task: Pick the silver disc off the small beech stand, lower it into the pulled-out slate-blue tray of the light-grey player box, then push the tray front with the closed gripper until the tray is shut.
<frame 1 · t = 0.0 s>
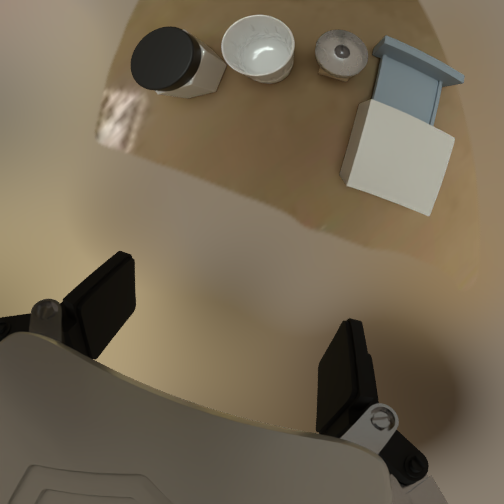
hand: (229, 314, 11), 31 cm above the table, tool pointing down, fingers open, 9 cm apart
housing: (387, 152, 34), on the table
white cup: (269, 63, 32), on the table
jar: (198, 72, 34), on the table
disc: (340, 55, 25), point 6 cm above the table, touching stand
tray: (411, 93, 27), point 4 cm above the table, slide at 8.0 cm
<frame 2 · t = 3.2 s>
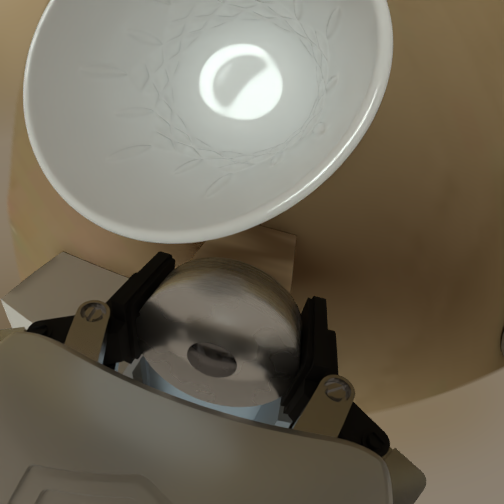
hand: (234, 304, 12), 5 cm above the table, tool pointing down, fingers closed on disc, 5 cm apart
housing: (117, 327, 22), on the table
white cup: (253, 90, 12), on the table
disc: (226, 324, 11), point 6 cm above the table, touching gripper, stand
tray: (203, 400, 18), point 4 cm above the table, slide at 8.0 cm
stand: (253, 257, 16), on the table
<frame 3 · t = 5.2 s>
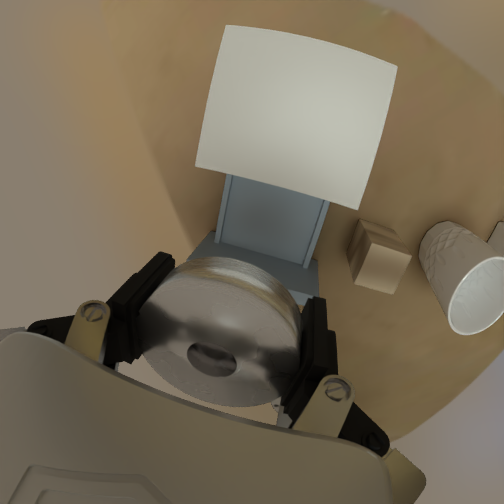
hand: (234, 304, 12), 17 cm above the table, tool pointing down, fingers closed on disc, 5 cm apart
housing: (297, 114, 23), on the table
white cup: (442, 248, 26), on the table
jar: (503, 249, 24), on the table
disc: (226, 324, 11), point 18 cm above the table, touching gripper
tray: (269, 217, 24), point 4 cm above the table, slide at 8.0 cm
stand: (370, 241, 27), on the table
when the fingers open (3 cm above the table, at t = 7.6 s): disc drops 2 cm, resting on tray.
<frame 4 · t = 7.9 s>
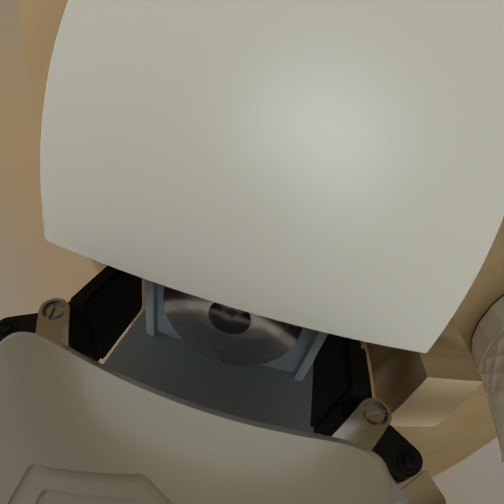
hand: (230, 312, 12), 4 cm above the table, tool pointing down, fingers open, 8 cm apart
housing: (290, 97, 11), on the table
white cup: (503, 323, 13), on the table
disc: (239, 290, 13), point 2 cm above the table, touching tray
tray: (229, 316, 12), point 4 cm above the table, slide at 8.0 cm, touching disc
stand: (408, 328, 15), on the table
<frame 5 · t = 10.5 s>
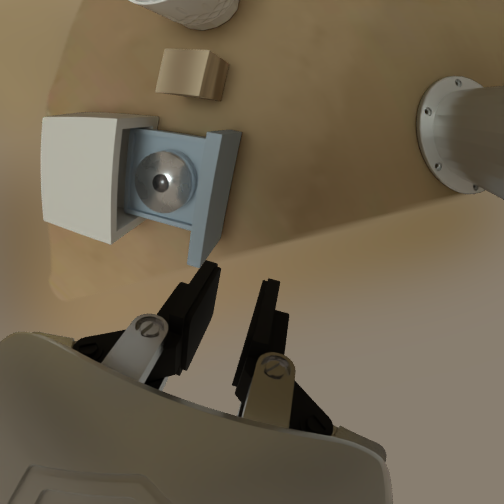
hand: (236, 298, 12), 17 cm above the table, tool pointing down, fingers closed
housing: (113, 162, 29), on the table
white cup: (208, 5, 19), on the table
disc: (170, 178, 26), point 2 cm above the table, touching tray
tray: (166, 183, 25), point 4 cm above the table, slide at 8.0 cm, touching disc
stand: (206, 80, 23), on the table
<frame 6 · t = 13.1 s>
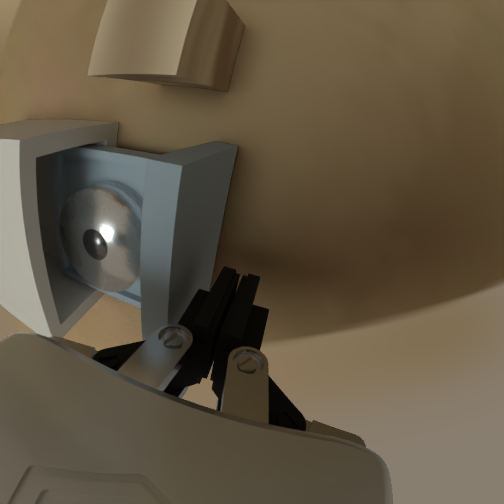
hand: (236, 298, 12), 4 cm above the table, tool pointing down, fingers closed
housing: (61, 196, 17), on the table
disc: (115, 230, 15), point 2 cm above the table, touching tray
tray: (104, 243, 13), point 4 cm above the table, slide at 6.4 cm, touching disc, gripper
stand: (200, 53, 12), on the table
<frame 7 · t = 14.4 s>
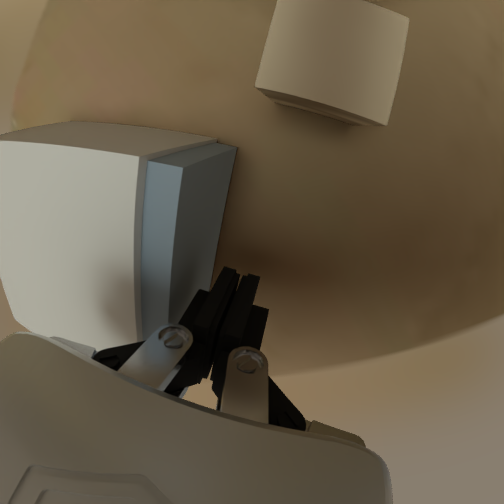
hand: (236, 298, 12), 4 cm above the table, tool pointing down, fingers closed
housing: (123, 217, 17), on the table
tray: (103, 245, 13), point 4 cm above the table, slide at -0.1 cm, touching disc, gripper, housing
stand: (323, 77, 11), on the table
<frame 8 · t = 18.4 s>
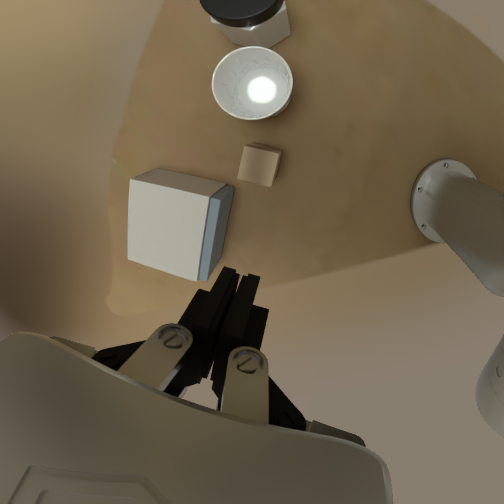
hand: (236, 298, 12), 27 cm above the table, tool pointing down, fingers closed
housing: (185, 213, 41), on the table
white cup: (265, 93, 32), on the table
jar: (259, 25, 27), on the table
tray: (182, 223, 38), point 4 cm above the table, slide at 0.0 cm, touching disc
stand: (264, 160, 36), on the table
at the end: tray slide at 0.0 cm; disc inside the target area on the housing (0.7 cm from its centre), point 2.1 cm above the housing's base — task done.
